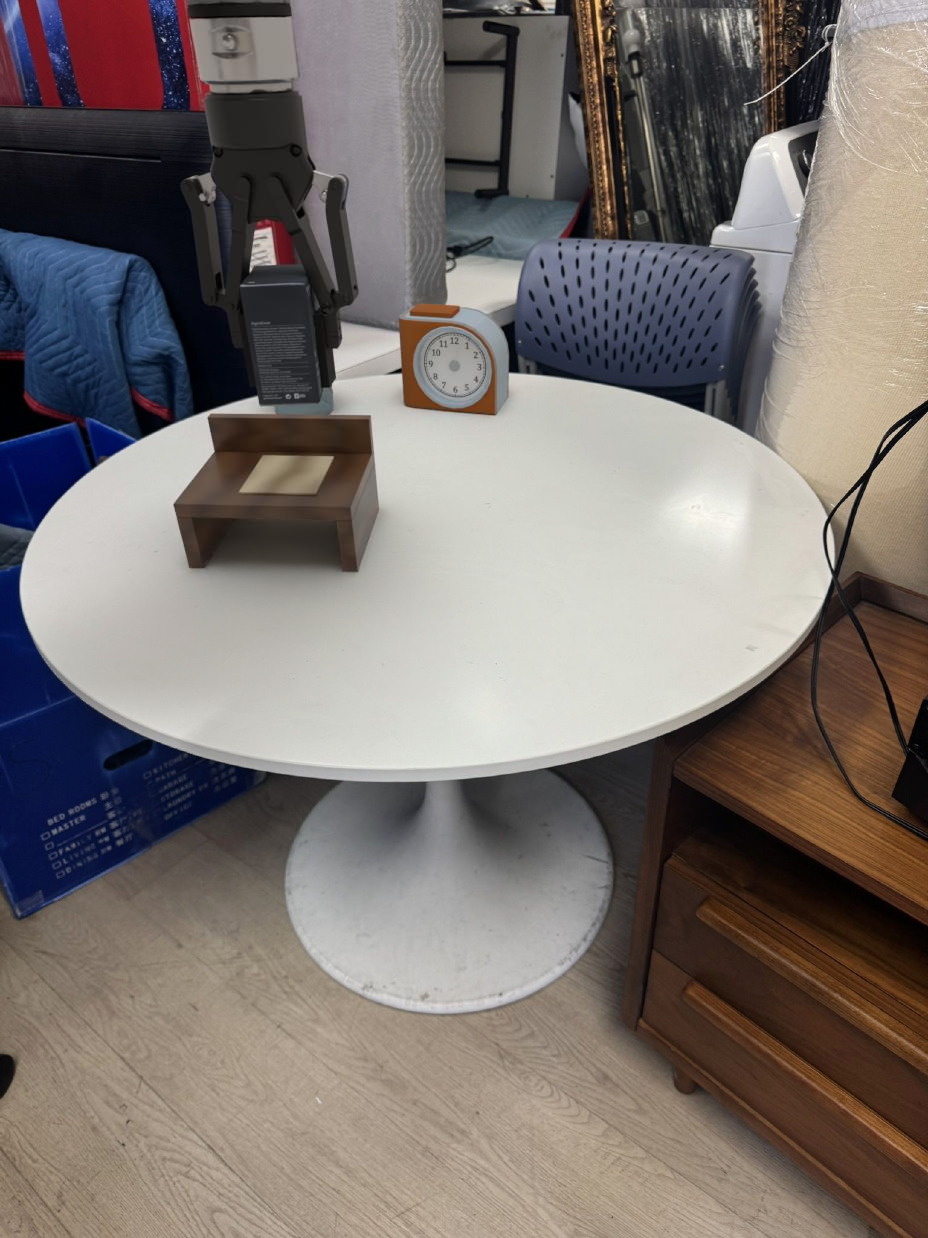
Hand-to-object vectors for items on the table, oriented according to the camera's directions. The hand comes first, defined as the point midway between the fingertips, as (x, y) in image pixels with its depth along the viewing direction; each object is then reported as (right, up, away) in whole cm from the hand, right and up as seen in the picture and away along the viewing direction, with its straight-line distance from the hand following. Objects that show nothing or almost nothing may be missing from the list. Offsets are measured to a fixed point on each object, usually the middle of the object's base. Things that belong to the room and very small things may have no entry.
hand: (293, 381), depth 76 cm
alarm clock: (+15, +11, +48) cm, 51 cm away
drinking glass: (-8, +9, +46) cm, 48 cm away
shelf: (-3, -13, +15) cm, 20 cm away
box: (0, -1, +1) cm, 1 cm away
